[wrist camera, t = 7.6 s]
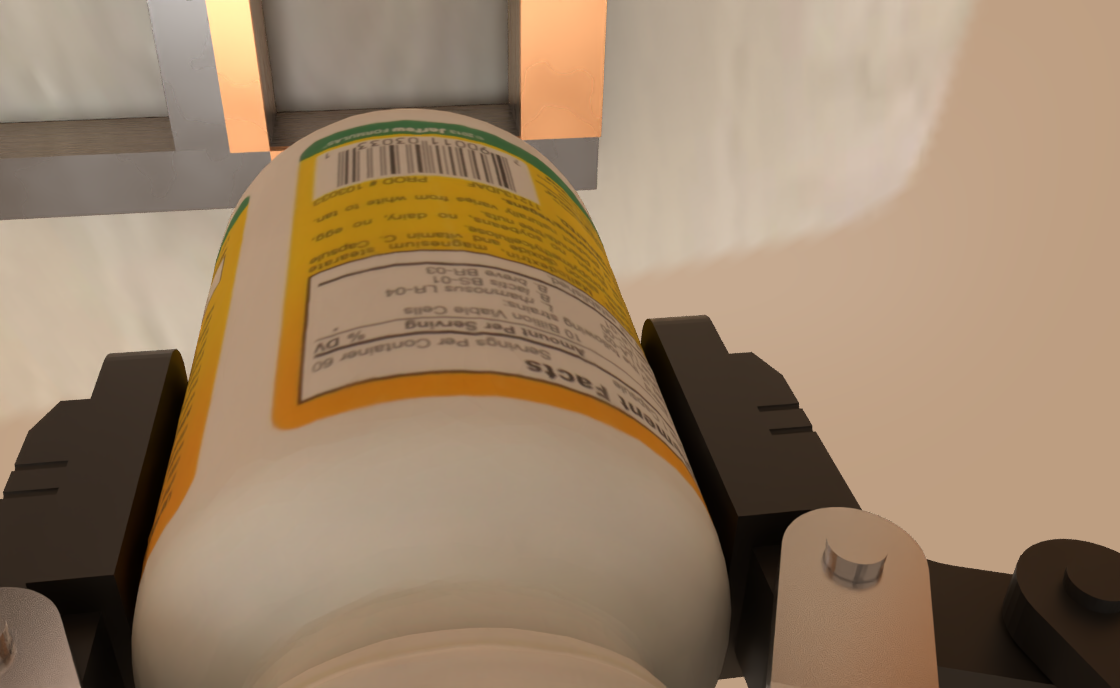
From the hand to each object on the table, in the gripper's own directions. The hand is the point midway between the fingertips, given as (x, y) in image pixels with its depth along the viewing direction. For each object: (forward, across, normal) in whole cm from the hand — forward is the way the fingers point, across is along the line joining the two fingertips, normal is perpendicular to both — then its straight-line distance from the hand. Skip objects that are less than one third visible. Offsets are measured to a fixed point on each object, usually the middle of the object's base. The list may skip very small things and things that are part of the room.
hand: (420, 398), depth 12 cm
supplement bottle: (+3, 0, 0) cm, 3 cm away
